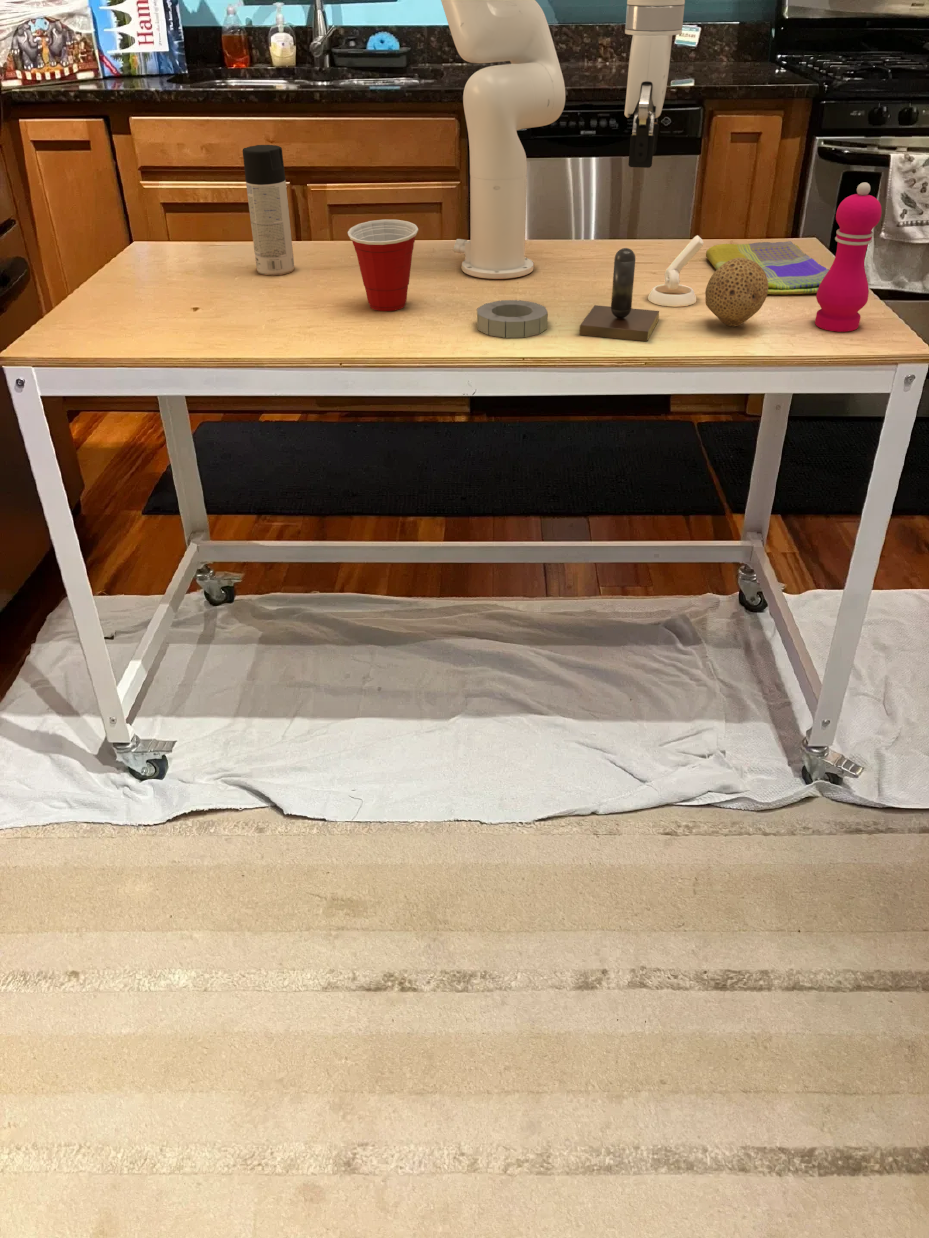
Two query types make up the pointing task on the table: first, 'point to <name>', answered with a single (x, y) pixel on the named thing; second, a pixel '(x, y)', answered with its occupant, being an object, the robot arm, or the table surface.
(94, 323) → the table surface
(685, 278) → the table surface
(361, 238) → the plastic cup
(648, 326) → the spindle
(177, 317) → the table surface
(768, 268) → the dish towel
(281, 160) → the spray can
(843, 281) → the pepper mill
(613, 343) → the table surface
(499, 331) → the grey ring
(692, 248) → the white lever handle
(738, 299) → the natural sponge
